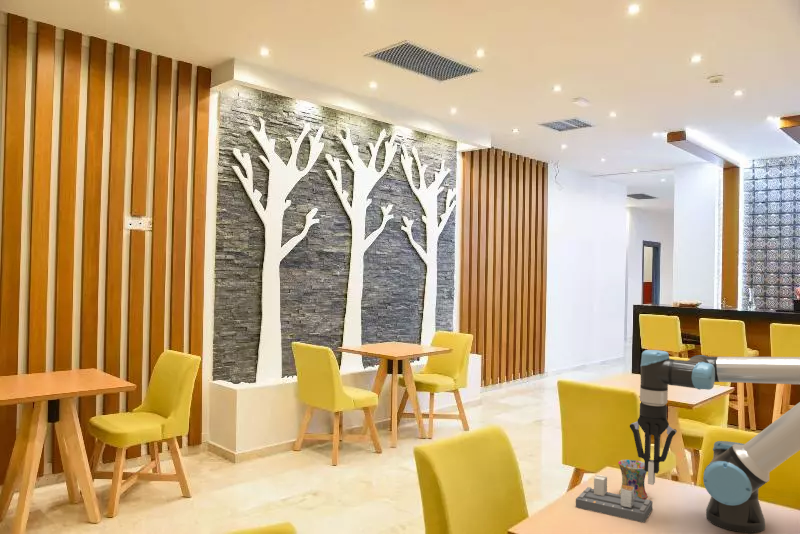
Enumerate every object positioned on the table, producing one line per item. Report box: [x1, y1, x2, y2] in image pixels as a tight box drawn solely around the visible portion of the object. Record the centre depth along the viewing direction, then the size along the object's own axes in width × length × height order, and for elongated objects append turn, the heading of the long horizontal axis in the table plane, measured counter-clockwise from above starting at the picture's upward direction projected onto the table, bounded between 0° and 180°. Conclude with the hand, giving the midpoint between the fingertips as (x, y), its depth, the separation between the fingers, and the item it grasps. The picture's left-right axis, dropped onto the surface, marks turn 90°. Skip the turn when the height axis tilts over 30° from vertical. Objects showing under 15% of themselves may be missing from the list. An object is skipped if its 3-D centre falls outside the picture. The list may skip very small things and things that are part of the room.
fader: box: [620, 484, 634, 508], centre depth 184 cm, size 3×4×6 cm
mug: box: [618, 459, 648, 500], centre depth 200 cm, size 12×9×11 cm
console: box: [575, 474, 653, 523], centre depth 188 cm, size 20×12×8 cm, turn 57°
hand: (651, 483), depth 180 cm, fingers closed
